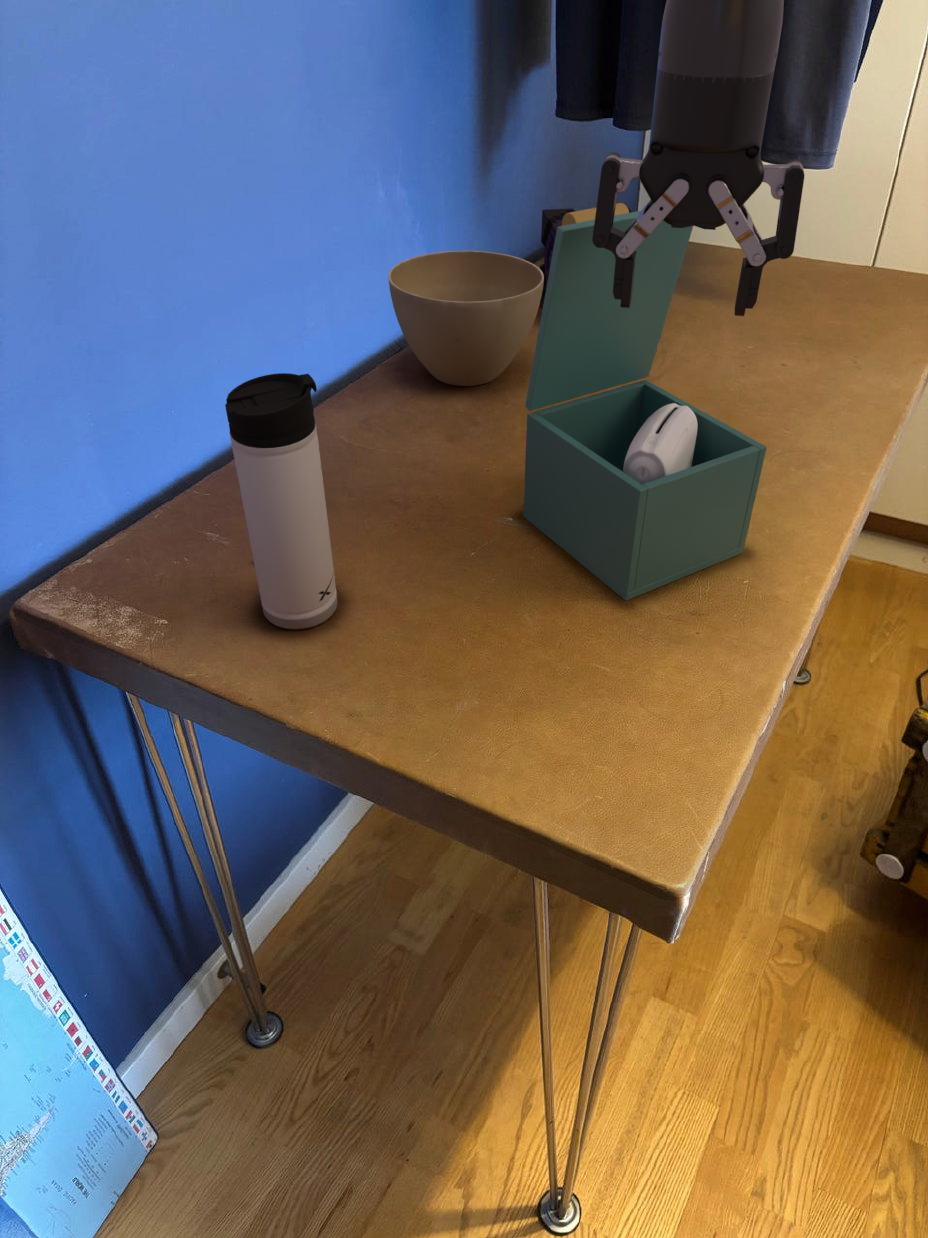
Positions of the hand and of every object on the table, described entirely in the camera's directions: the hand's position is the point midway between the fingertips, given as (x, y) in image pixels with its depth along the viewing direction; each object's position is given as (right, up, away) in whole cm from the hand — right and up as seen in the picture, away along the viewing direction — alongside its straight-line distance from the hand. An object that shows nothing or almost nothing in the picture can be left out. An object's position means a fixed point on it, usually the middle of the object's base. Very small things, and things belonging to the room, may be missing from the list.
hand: (682, 308), depth 70 cm
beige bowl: (-16, +7, +44) cm, 47 cm away
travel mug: (-30, -23, +7) cm, 39 cm away
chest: (-1, -16, +15) cm, 22 cm away
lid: (-4, +2, +7) cm, 9 cm away
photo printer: (0, -17, +13) cm, 21 cm away
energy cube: (+1, +20, +61) cm, 64 cm away
